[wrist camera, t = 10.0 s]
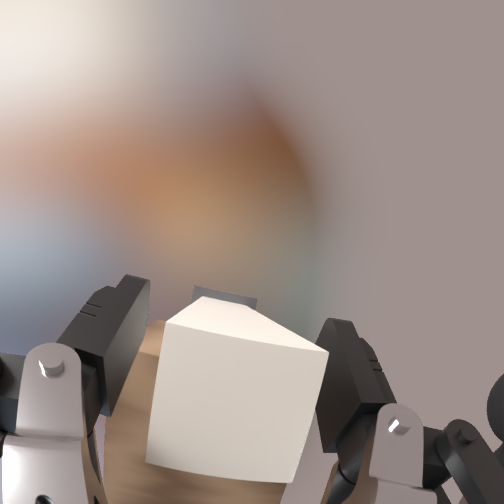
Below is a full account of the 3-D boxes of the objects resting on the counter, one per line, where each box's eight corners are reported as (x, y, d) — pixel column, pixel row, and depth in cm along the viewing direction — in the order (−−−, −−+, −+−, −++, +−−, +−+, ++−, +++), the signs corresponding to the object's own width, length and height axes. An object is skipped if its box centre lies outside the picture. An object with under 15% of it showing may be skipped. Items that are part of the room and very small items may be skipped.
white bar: (242, 341, 24) (252, 297, 24) (322, 483, 5) (368, 326, 6) (187, 330, 23) (196, 285, 24) (111, 452, 5) (134, 279, 5)
